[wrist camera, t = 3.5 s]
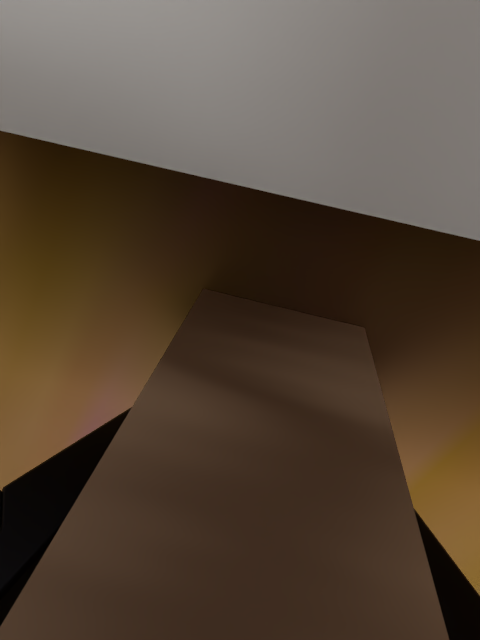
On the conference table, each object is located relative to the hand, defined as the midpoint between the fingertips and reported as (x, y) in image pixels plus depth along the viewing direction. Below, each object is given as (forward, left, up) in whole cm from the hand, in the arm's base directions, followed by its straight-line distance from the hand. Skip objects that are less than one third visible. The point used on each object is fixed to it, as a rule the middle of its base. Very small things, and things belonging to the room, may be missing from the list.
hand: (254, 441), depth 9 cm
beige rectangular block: (0, 0, -2) cm, 2 cm away
